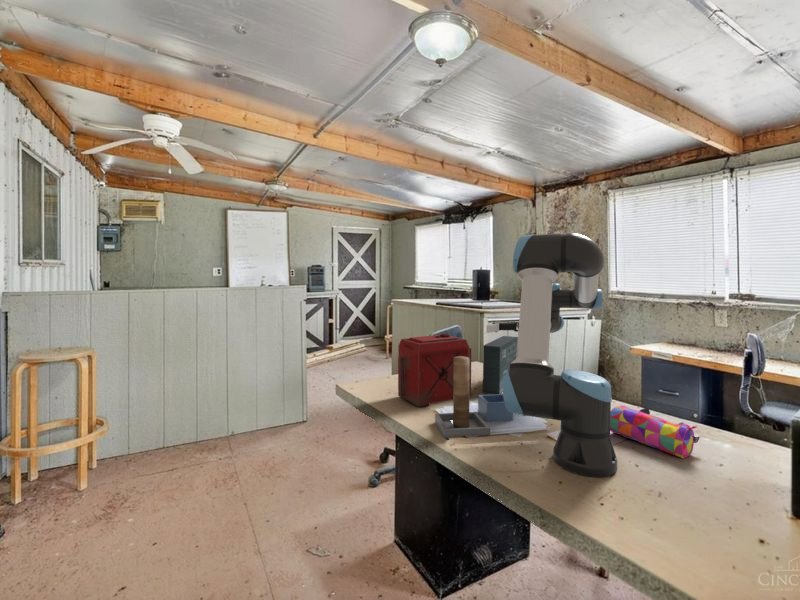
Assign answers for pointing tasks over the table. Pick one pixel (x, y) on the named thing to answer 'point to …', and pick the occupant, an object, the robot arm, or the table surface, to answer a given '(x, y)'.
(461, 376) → the dowel
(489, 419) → the open box
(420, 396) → the jerry can
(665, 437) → the pencil case
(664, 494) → the table surface
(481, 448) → the table surface
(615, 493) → the table surface
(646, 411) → the electric trimmer
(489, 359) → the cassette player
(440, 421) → the tray
